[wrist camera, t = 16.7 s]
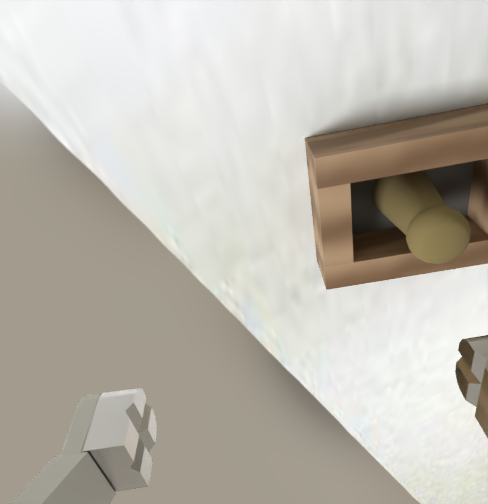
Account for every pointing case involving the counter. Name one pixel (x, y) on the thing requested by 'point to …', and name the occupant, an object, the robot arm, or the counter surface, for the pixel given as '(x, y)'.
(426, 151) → the well block
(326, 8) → the counter surface
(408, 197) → the cork
